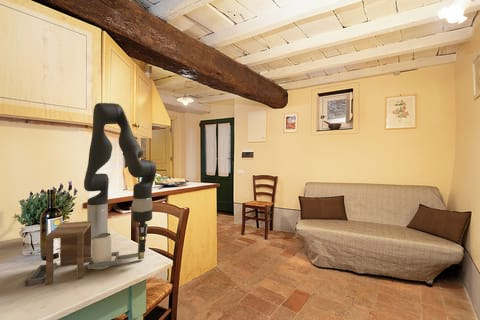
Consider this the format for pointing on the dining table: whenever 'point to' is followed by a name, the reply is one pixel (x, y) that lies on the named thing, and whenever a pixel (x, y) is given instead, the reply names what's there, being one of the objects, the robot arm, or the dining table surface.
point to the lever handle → (117, 258)
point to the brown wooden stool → (70, 246)
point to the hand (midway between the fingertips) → (142, 248)
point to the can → (101, 249)
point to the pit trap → (38, 275)
